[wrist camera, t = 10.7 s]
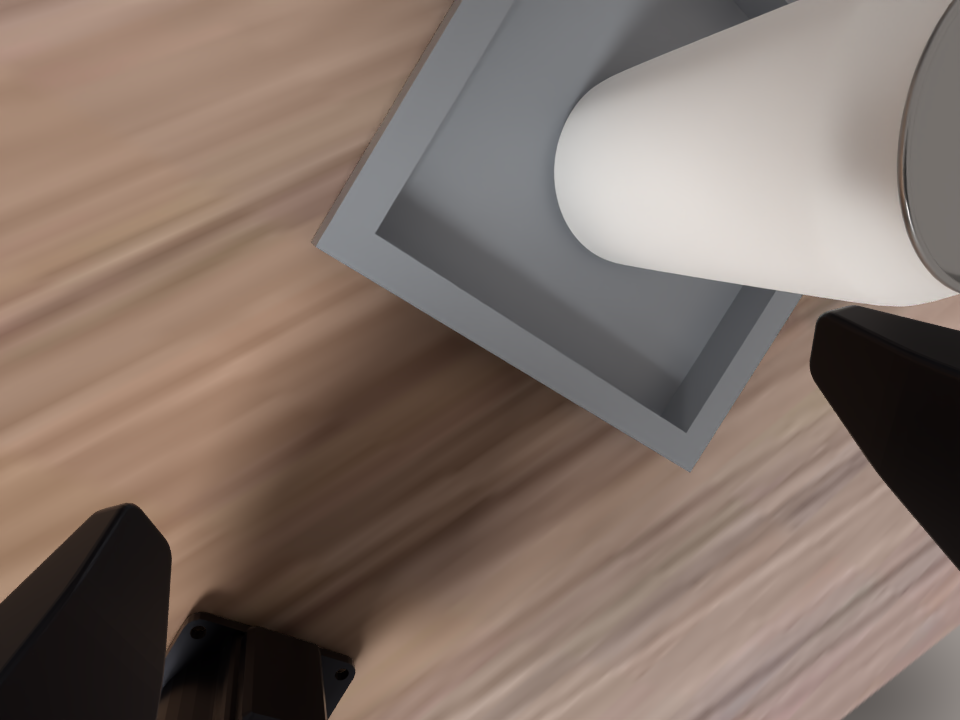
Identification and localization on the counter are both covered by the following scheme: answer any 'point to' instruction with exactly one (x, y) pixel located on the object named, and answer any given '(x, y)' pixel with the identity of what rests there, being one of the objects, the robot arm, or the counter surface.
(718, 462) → the counter surface
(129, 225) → the counter surface
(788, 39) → the can
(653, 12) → the tray
